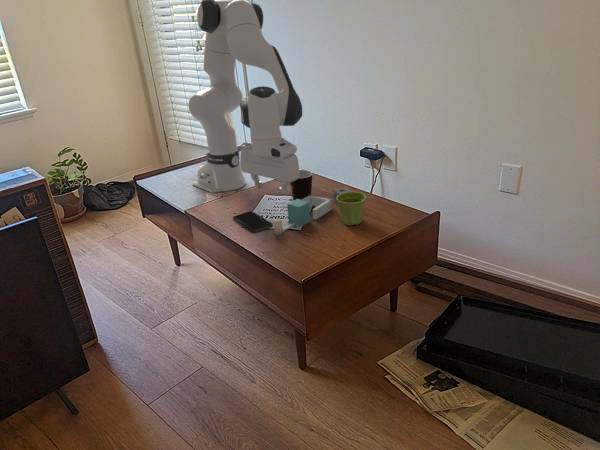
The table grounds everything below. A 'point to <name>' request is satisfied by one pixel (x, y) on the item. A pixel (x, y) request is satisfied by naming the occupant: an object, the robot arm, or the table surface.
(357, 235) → the table surface
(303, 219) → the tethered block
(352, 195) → the plant pot
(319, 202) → the rail lane
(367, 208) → the table surface
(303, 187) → the coffee mug
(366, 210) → the table surface
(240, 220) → the phone
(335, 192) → the grey cube with symbols
